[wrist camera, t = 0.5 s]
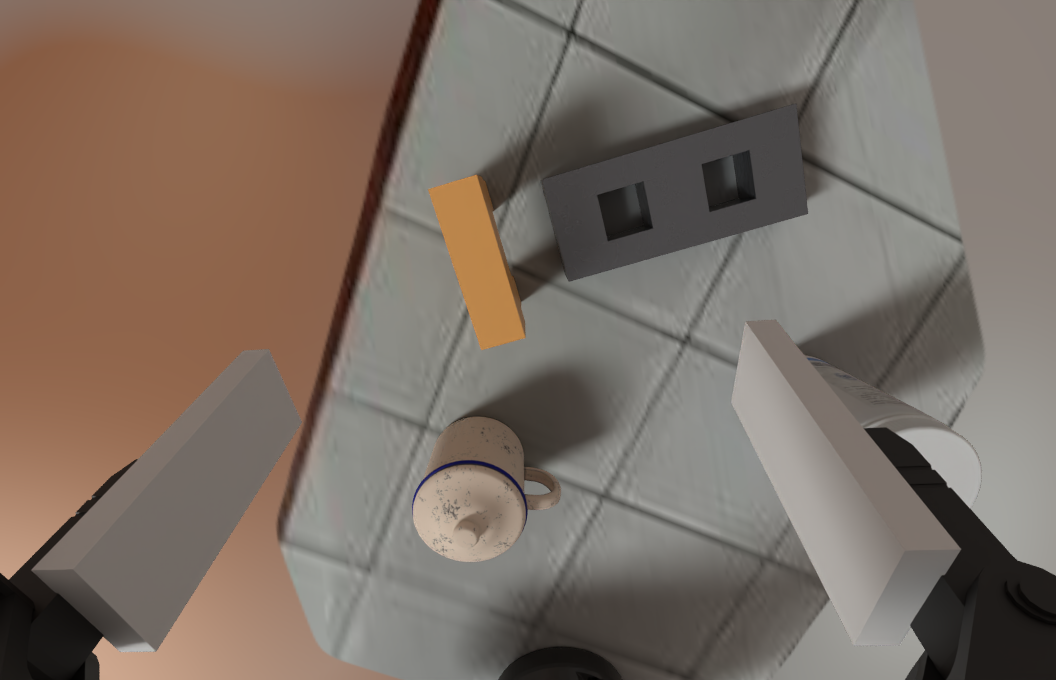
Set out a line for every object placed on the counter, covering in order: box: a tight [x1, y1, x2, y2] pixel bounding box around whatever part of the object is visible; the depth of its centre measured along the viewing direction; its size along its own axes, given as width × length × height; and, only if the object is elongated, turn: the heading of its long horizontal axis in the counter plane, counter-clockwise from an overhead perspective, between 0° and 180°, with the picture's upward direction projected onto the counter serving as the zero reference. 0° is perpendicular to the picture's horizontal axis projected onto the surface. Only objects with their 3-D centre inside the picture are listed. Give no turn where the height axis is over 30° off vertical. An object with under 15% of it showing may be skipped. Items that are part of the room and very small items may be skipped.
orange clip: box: [428, 175, 526, 350], centre depth 35 cm, size 10×3×11 cm, turn 16°
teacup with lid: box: [412, 417, 561, 562], centre depth 40 cm, size 12×9×12 cm
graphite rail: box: [541, 104, 808, 281], centre depth 38 cm, size 8×19×3 cm, turn 106°
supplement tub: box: [805, 355, 982, 509], centre depth 38 cm, size 10×10×15 cm
